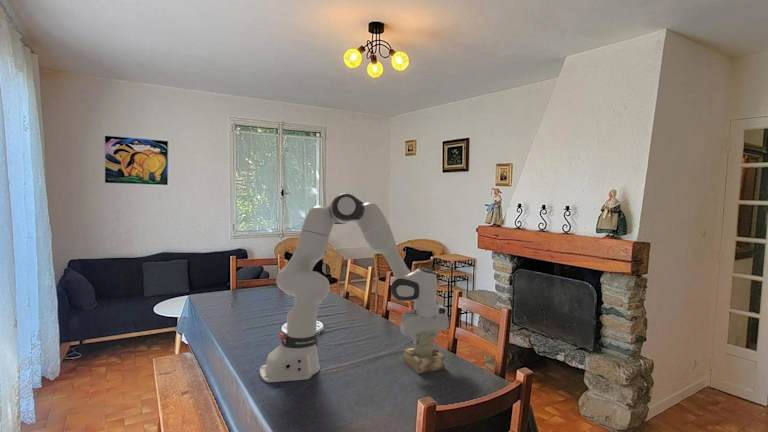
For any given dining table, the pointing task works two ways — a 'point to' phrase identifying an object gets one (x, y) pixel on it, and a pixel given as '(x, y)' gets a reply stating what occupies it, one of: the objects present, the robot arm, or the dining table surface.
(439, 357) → the socket block
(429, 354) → the skincare box
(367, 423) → the dining table surface
